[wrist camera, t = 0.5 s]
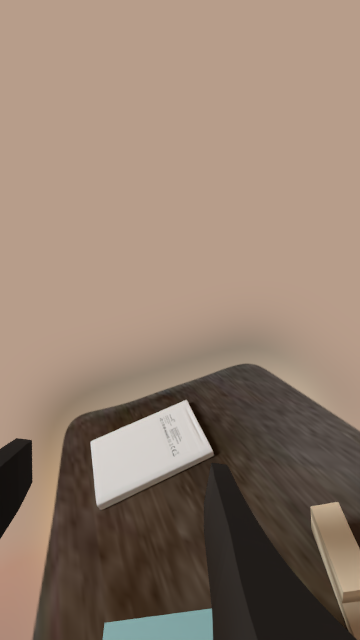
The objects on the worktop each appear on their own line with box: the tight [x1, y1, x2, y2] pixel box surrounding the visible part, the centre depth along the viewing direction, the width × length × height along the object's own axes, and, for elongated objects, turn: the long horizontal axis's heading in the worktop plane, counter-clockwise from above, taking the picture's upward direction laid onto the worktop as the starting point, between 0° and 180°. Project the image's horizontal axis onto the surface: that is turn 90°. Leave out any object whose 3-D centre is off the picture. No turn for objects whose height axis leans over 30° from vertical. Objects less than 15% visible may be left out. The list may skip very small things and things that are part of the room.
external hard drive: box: [91, 400, 214, 510], centre depth 35 cm, size 2×8×12 cm
